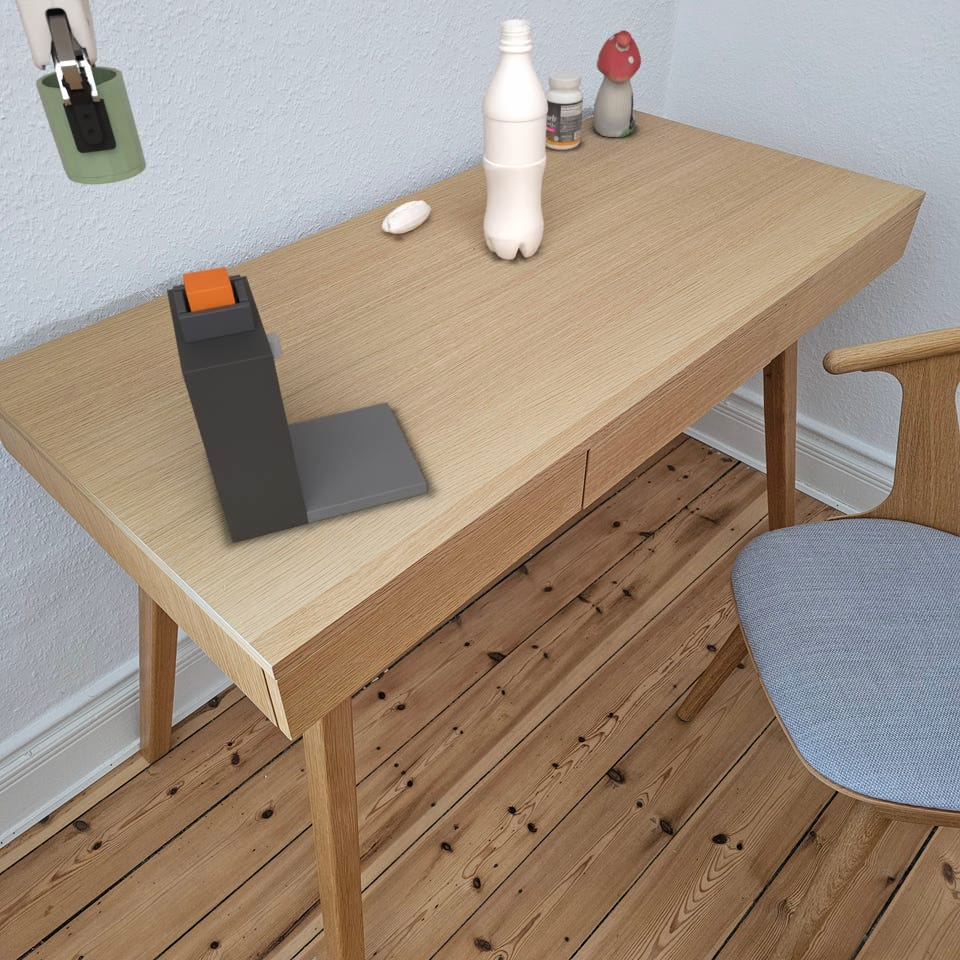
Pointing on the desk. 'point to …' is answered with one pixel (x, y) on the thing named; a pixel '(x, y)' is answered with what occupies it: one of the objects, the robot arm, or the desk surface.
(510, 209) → the water bottle
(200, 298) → the button
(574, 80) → the pill bottle
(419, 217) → the white oval pebble
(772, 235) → the desk surface
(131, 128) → the cup
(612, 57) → the decorative ornament
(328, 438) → the coffee maker
